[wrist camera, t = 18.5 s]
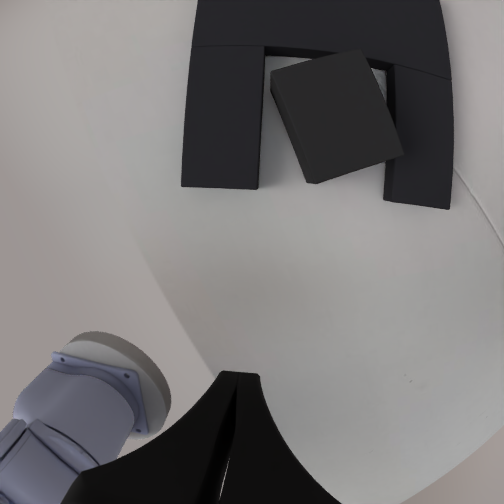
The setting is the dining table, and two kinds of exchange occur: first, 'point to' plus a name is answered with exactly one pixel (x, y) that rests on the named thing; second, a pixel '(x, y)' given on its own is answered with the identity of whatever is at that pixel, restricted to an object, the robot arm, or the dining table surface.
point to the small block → (335, 115)
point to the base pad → (315, 46)
